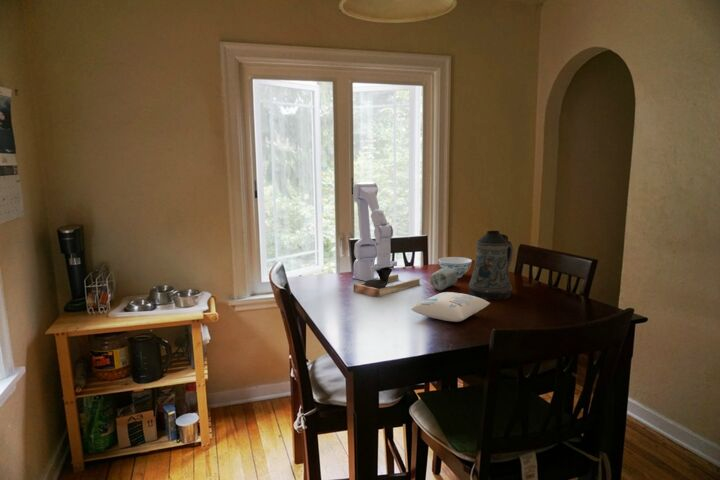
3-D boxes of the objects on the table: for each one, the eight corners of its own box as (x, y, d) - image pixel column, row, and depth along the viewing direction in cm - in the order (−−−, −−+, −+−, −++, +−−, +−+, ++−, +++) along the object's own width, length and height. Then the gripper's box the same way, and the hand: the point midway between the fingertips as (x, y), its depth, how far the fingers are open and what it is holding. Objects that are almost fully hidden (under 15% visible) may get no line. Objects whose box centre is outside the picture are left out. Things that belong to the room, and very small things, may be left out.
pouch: (441, 284, 165) (411, 294, 150) (491, 294, 153) (463, 306, 138) (440, 305, 167) (410, 317, 151) (489, 317, 155) (462, 331, 139)
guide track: (353, 291, 188) (353, 284, 188) (396, 279, 207) (396, 272, 206) (376, 297, 179) (376, 289, 178) (419, 284, 197) (419, 277, 197)
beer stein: (463, 297, 176) (464, 233, 172) (475, 285, 193) (477, 227, 189) (507, 302, 168) (509, 235, 164) (516, 289, 185) (518, 229, 181)
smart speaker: (384, 287, 192) (384, 278, 191) (386, 293, 183) (386, 284, 183) (363, 288, 192) (363, 279, 191) (364, 294, 183) (364, 284, 182)
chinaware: (472, 280, 201) (472, 263, 200) (437, 279, 204) (438, 263, 203) (470, 273, 216) (471, 257, 215) (438, 272, 219) (439, 256, 218)
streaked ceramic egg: (447, 286, 180) (440, 262, 184) (428, 293, 186) (422, 270, 190) (465, 287, 190) (459, 265, 193) (447, 294, 196) (441, 272, 199)
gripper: (378, 257, 181) (379, 290, 183) (402, 252, 191) (402, 283, 193) (366, 255, 186) (366, 287, 188) (389, 250, 196) (390, 280, 198)
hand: (384, 285), depth 191 cm, fingers closed
